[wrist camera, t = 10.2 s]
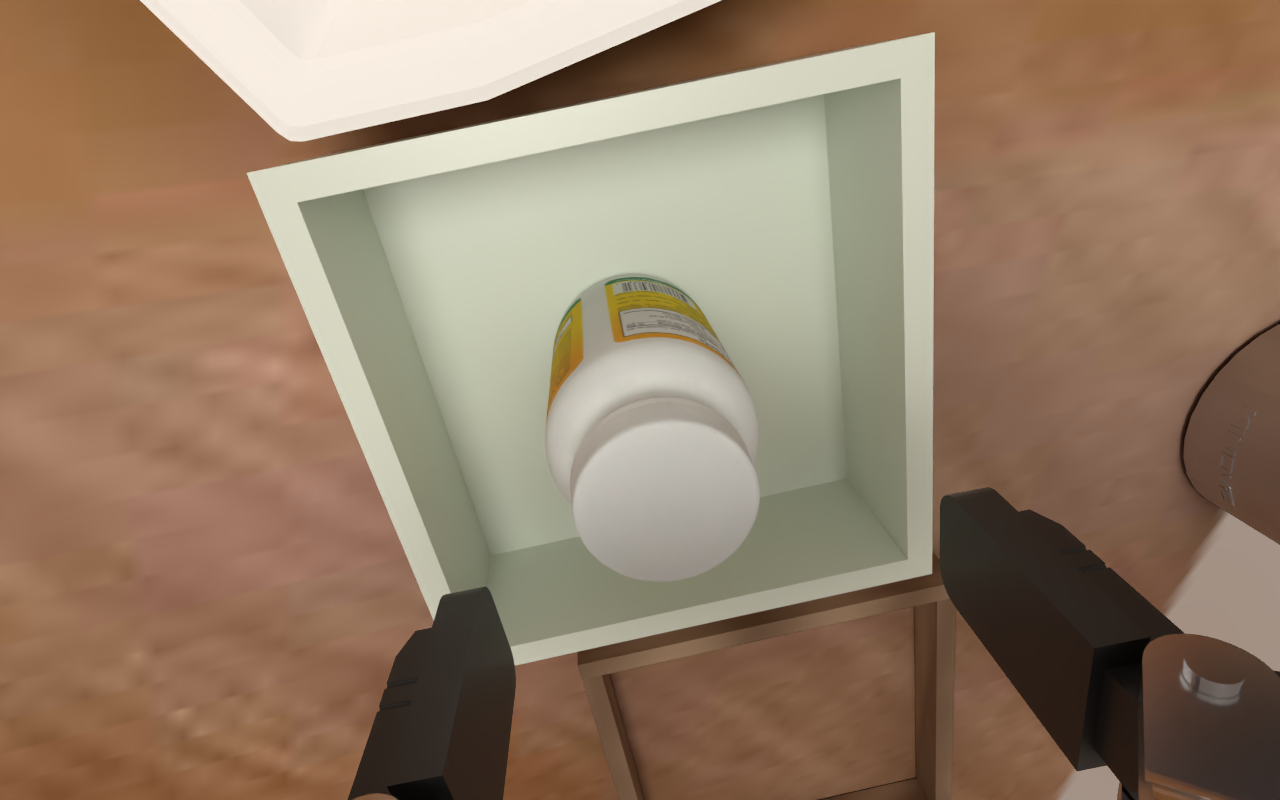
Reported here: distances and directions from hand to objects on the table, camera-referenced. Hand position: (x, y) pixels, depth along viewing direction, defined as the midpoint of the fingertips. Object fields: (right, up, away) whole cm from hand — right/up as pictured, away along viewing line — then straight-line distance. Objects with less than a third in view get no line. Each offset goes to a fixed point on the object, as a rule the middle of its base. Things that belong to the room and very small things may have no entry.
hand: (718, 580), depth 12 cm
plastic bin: (-2, +5, +12) cm, 13 cm away
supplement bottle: (-2, +5, +11) cm, 12 cm away
